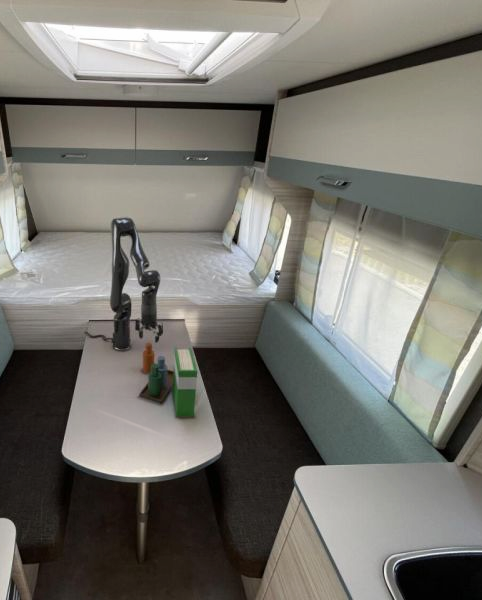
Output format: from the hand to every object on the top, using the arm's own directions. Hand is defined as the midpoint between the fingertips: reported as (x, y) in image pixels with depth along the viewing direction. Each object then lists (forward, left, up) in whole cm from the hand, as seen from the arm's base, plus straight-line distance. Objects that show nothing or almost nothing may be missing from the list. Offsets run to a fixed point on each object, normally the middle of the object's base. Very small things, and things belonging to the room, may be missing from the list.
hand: (148, 339), depth 163 cm
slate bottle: (+11, -9, -18) cm, 23 cm away
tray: (+11, -9, -19) cm, 23 cm away
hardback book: (+25, -15, -19) cm, 34 cm away
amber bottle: (0, 0, -19) cm, 19 cm away
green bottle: (+11, -16, -18) cm, 26 cm away
